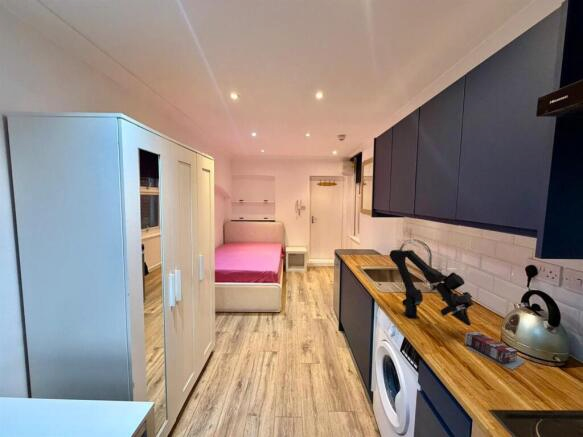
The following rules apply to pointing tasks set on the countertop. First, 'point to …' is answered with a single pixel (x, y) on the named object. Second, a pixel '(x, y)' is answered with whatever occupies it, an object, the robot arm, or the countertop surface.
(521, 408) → the countertop surface
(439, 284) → the robot arm
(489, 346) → the supplement box
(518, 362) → the mat
